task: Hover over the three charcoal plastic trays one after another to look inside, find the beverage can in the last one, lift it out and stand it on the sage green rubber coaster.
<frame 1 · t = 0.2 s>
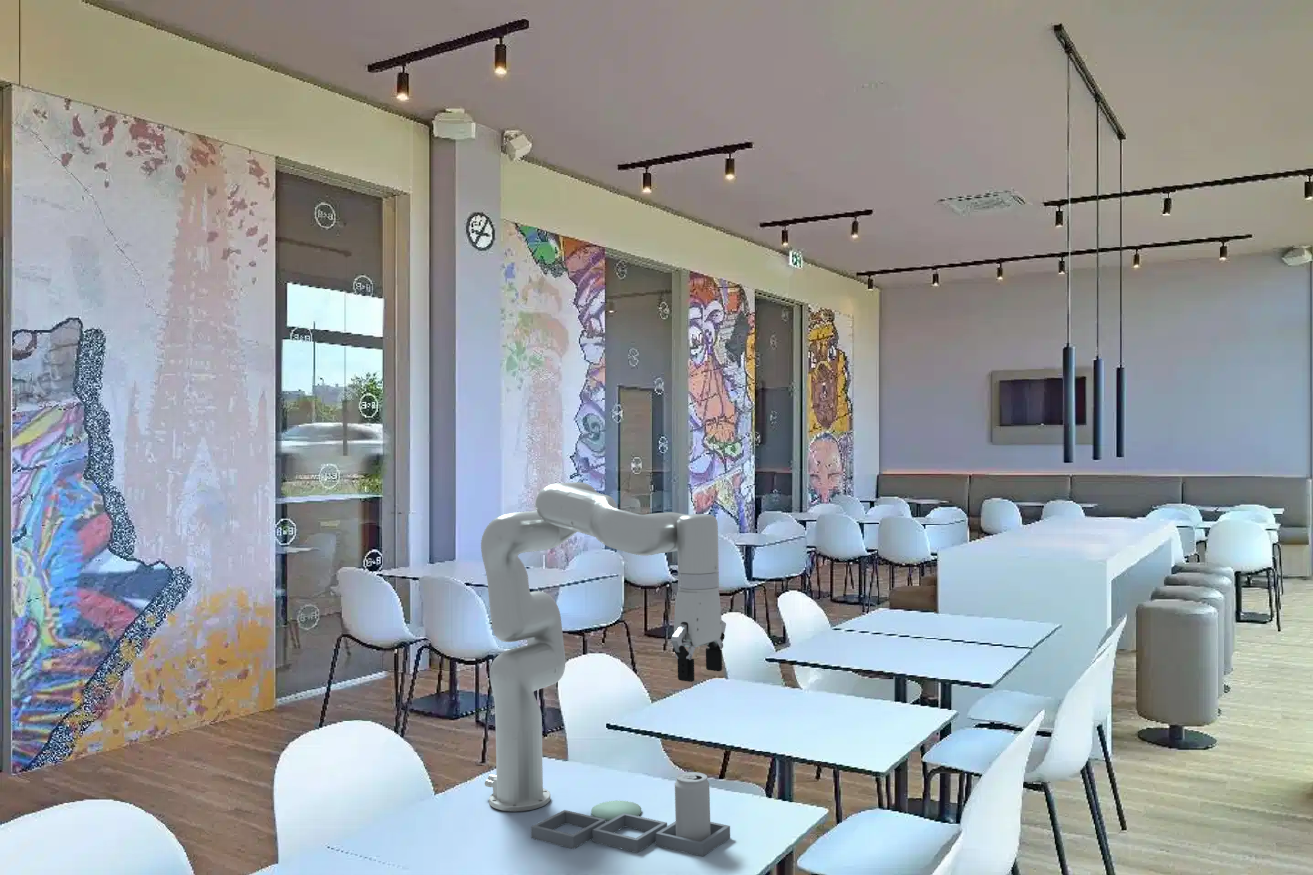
hand: (700, 675, 182), 31 cm above the table, tool pointing down, fingers open, 9 cm apart
coaster: (616, 812, 198), on the table
beverage can: (693, 842, 183), resting in tray 3
tray 1: (568, 834, 187), on the table
tray 3: (693, 841, 183), on the table
tray 2: (630, 837, 185), on the table
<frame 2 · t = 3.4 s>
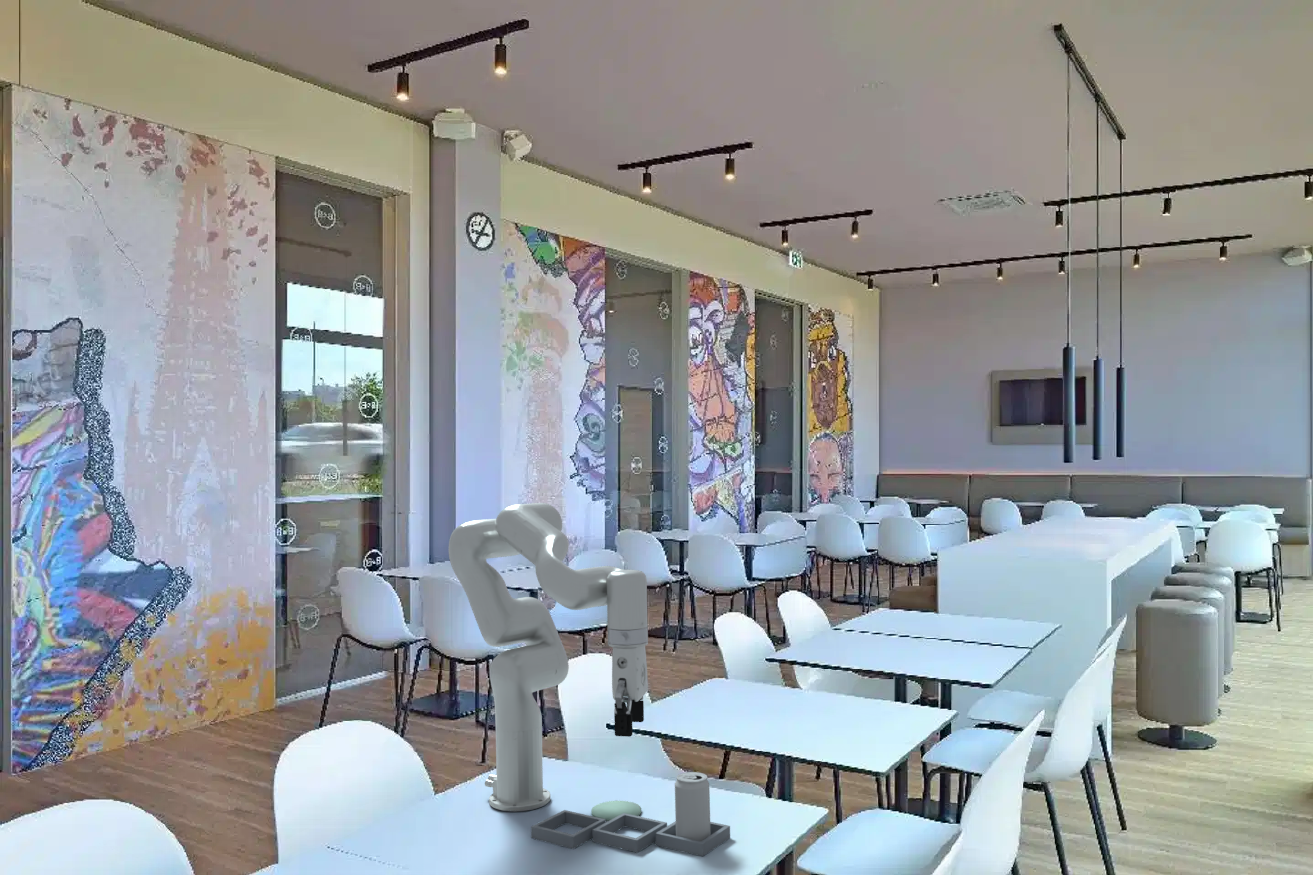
hand: (629, 728, 185), 20 cm above the table, tool pointing down, fingers open, 9 cm apart
nothing on the table moved.
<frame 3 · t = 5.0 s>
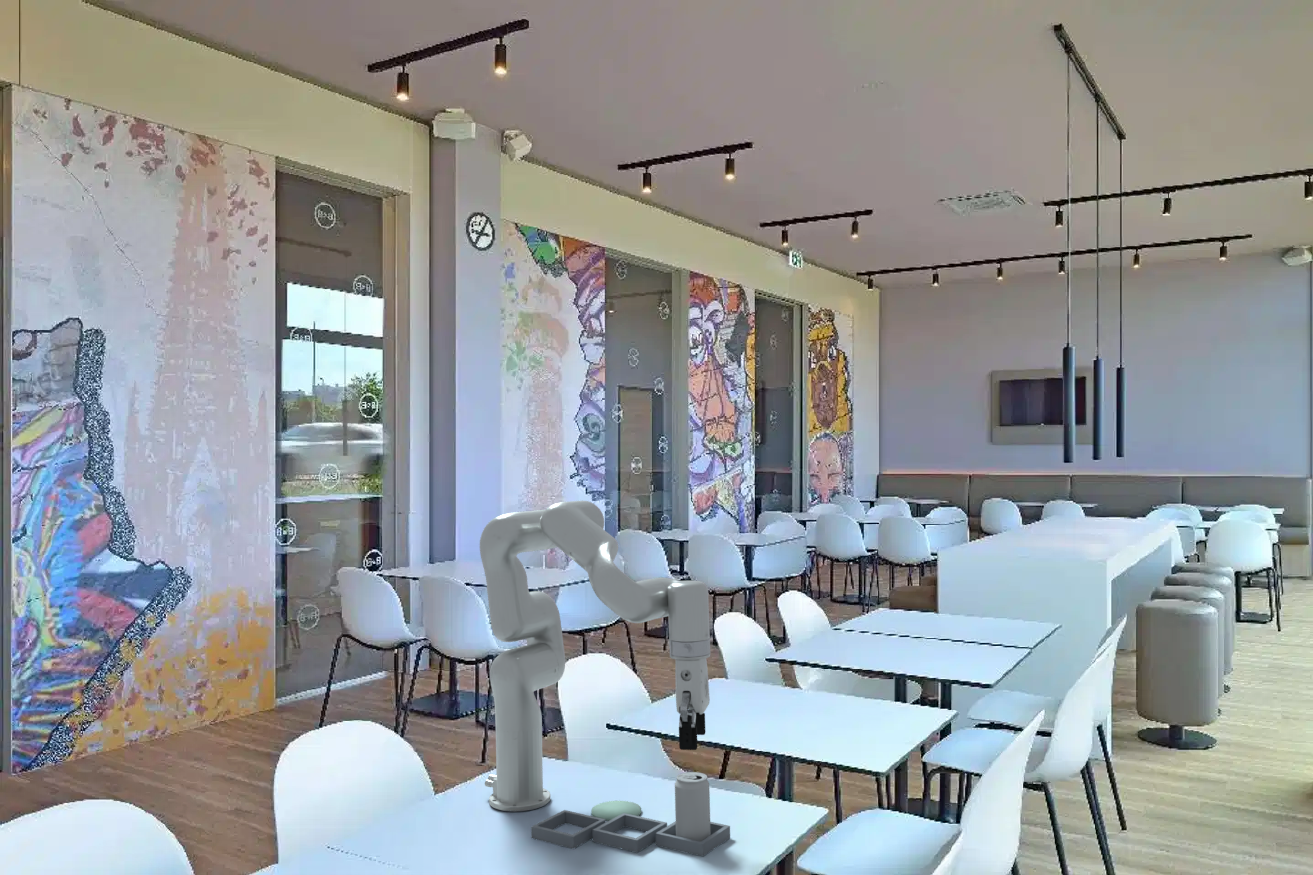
hand: (692, 741, 183), 18 cm above the table, tool pointing down, fingers open, 9 cm apart
nothing on the table moved.
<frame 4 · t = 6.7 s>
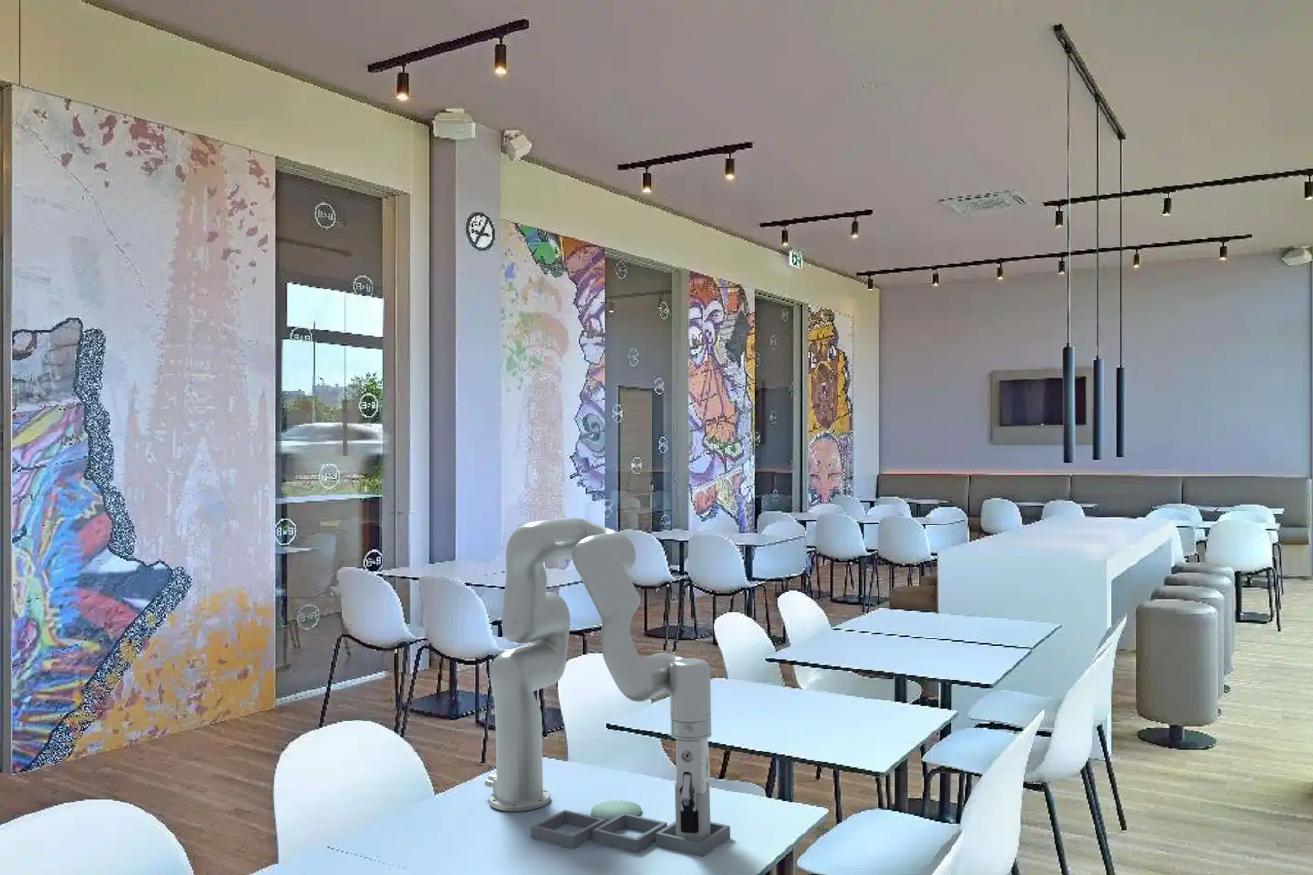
hand: (693, 823, 183), 3 cm above the table, tool pointing down, fingers closed on beverage can, 6 cm apart
beverage can: (693, 842, 183), resting in tray 3, touching gripper
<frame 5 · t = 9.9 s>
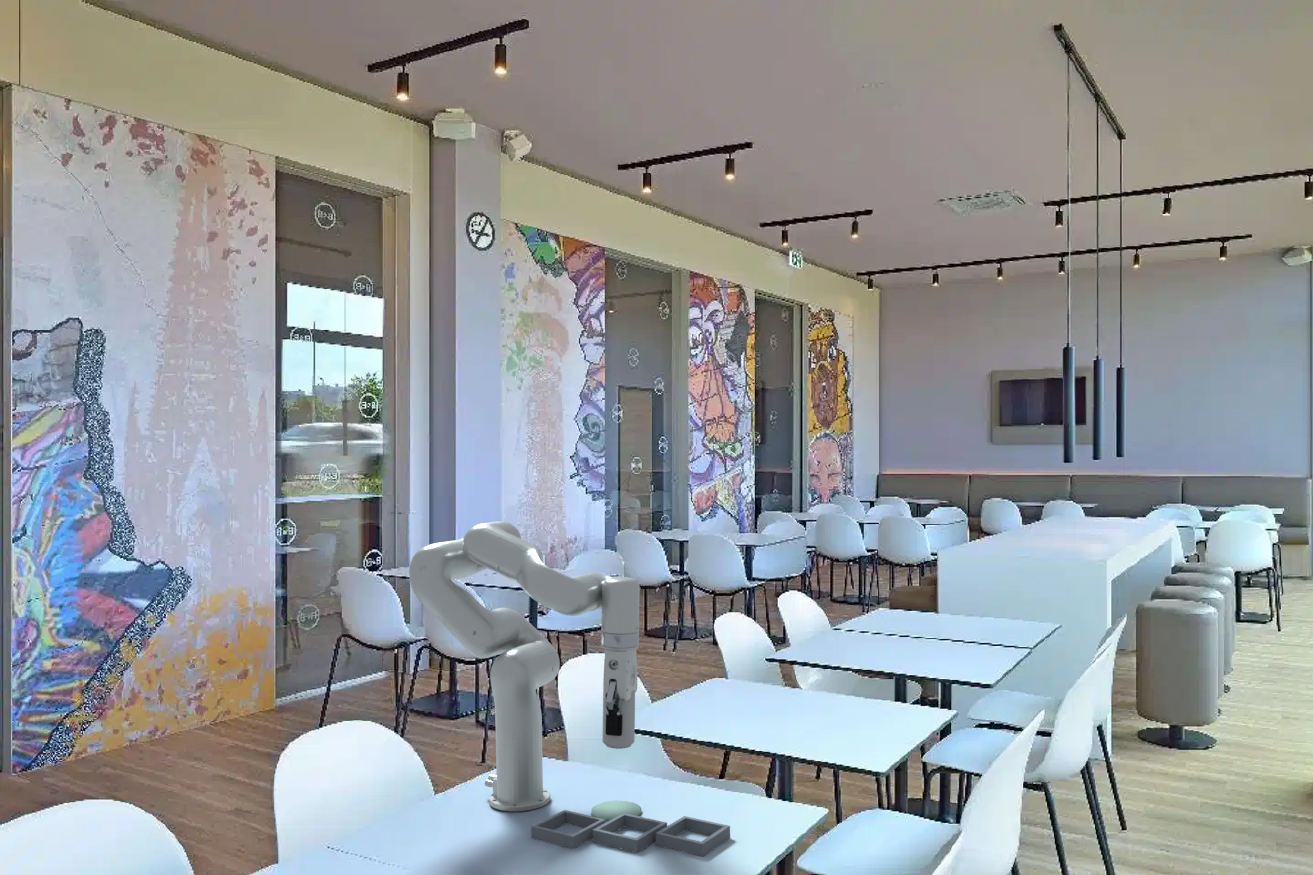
hand: (618, 729, 197), 17 cm above the table, tool pointing down, fingers closed on beverage can, 6 cm apart
beverage can: (618, 745, 197), point 14 cm above the table, touching gripper
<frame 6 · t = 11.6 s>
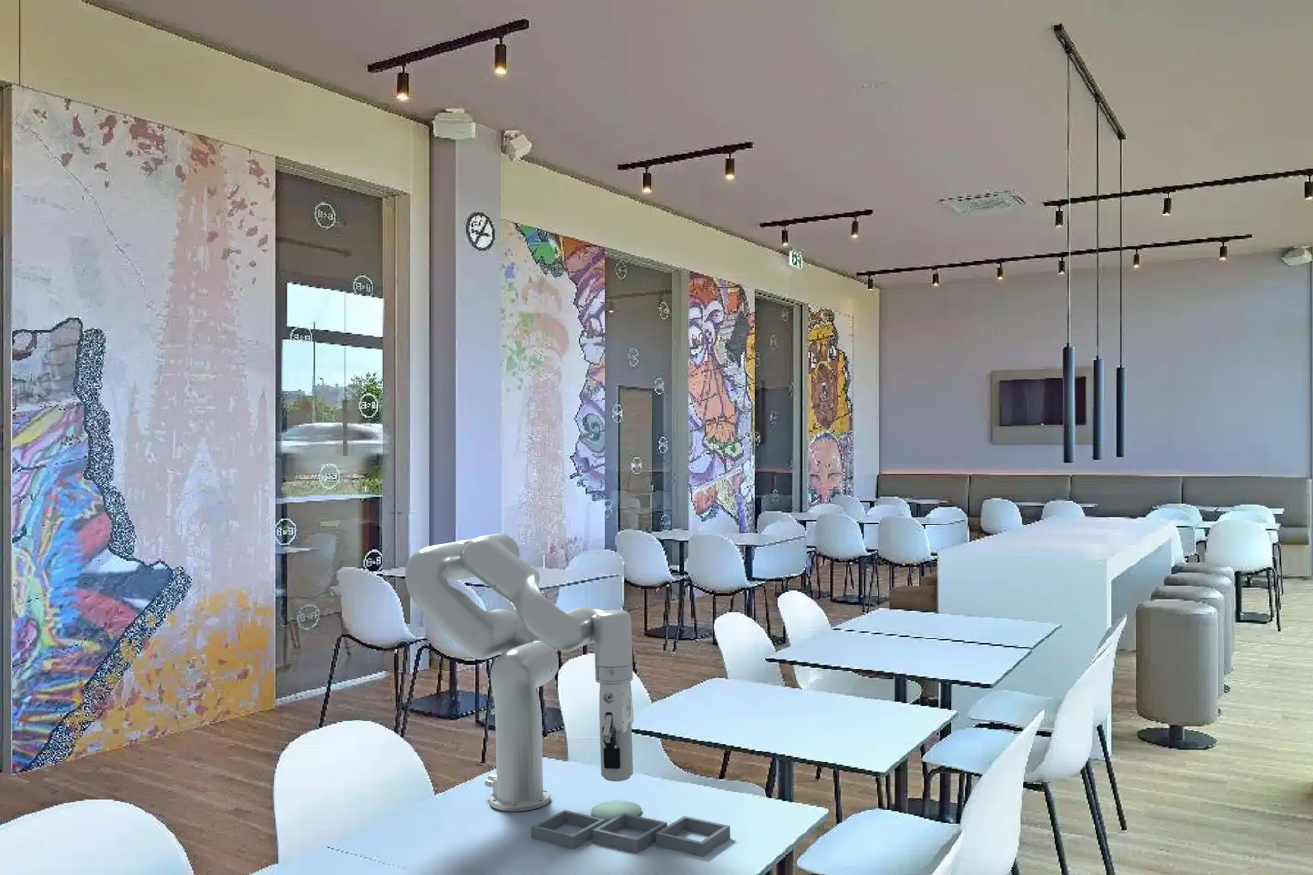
hand: (616, 761, 198), 10 cm above the table, tool pointing down, fingers closed on beverage can, 6 cm apart
beverage can: (617, 778, 198), point 7 cm above the table, touching gripper
when the fingers open (5 cm above the table, at t = 13.0 s): beverage can drops 1 cm, resting on coaster.
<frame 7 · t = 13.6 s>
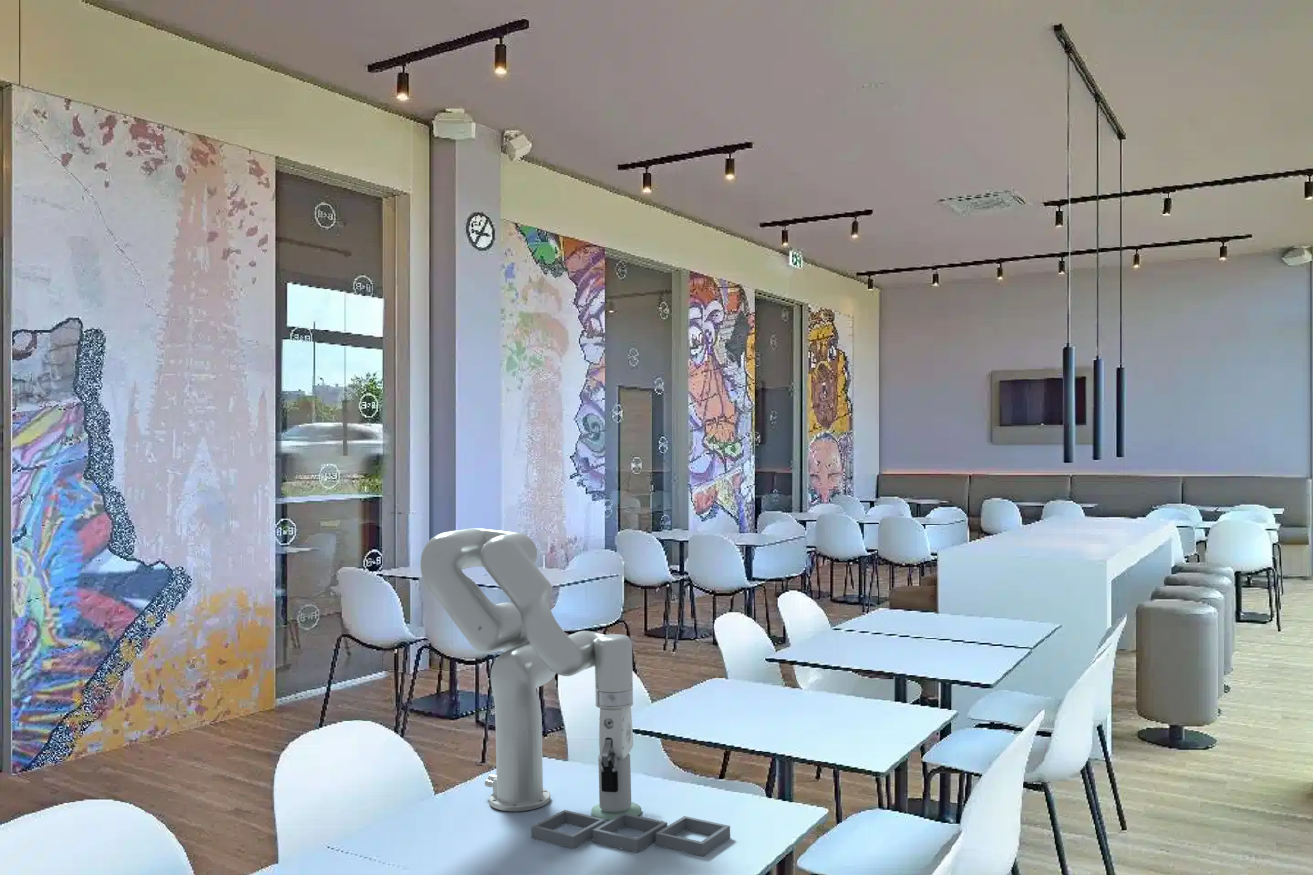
hand: (615, 783, 198), 6 cm above the table, tool pointing down, fingers open, 9 cm apart
beverage can: (615, 810, 198), resting on coaster
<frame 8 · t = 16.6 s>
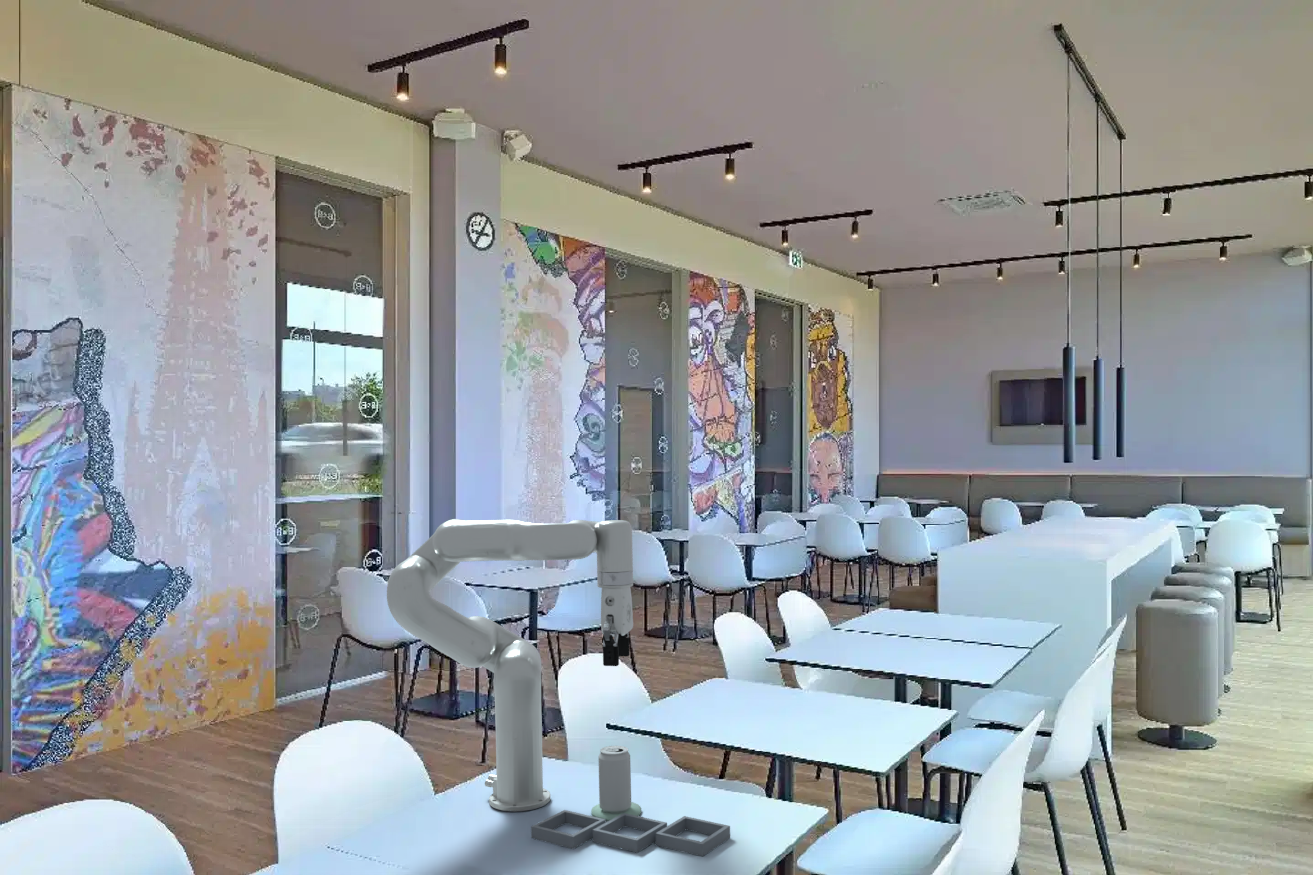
hand: (616, 660, 208), 28 cm above the table, tool pointing down, fingers open, 9 cm apart
nothing on the table moved.
at the end: beverage can 0.2 cm from the coaster (horizontally); beverage can tilted 0°; the gripper is holding nothing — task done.
